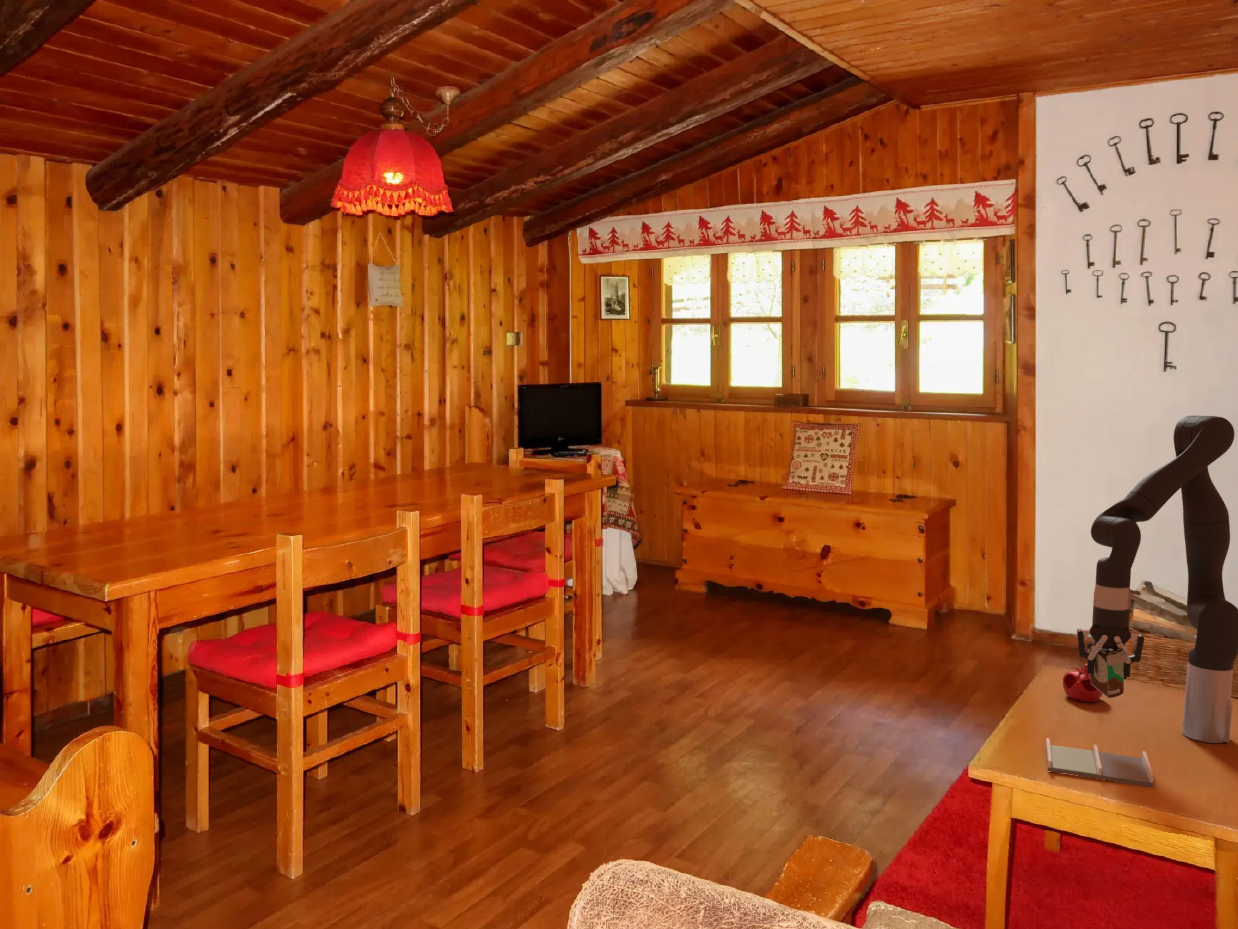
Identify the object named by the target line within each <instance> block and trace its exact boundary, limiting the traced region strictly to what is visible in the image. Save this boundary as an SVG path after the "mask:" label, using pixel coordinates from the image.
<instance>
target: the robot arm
mask: <svg viewBox="0 0 1238 929" xmlns="http://www.w3.org/2000/svg"><path fill="white" fill-rule="evenodd" d="M1234 440H1235V429H1234V426H1233V424H1232V423H1231V421H1230V420H1228V419H1226V417H1223V416H1217V415H1186V416H1184V417H1183V416H1182V417H1181V418H1180V419H1179V420H1178V421H1177V423H1176V425H1175V427H1174V430H1173V446H1174V452H1175V457H1174V459H1172V460H1170V461H1169V462H1167V463H1166V464H1164V465H1162V466H1160V467H1158V468H1156V469H1155V470H1153V471H1152V472H1150V473H1148V474H1147V475H1146V476H1145V477H1143V478H1142V479H1141V480H1140V481H1139V482H1138V483H1137V484H1136V485H1135V486H1134V487H1133V489H1131V491H1130V492H1129V493H1127V495H1126V496H1125V497H1124V498H1122V499H1121V500H1119V501H1118V502H1115V504H1113V505H1112V506H1110V507H1108V508H1107V509H1105V510H1104V511H1102V512H1100V513H1099V515H1098V516H1097V517H1096V518H1095V519H1094V520H1093V522H1092V523H1091V524H1092V525H1091V528H1090V535H1091V536H1090V537H1091V538H1092V540H1093V541H1094V542H1095V543H1096V544H1098V545H1100V546H1104V547H1108V548H1111V552H1110V554H1109V556H1107V557H1106V556H1105V557H1102V558H1101V557H1100V559H1098V561H1097V562H1096V569H1095V572H1096V573H1095V586H1094V591H1093V602H1092V603H1093V605H1092V619H1091V620H1092V621H1091V622H1092V624H1091V627H1090V628H1089V629H1083V628H1078V629H1076V637H1077V647H1078V649H1077V650H1078V654H1079V656H1080V657H1081V658H1084V659H1085V658H1086V660H1087V661H1086V664H1087V672H1088V673H1089V674H1090V676H1094V663H1095V661H1094V657H1095V656H1096V654H1097V653H1098V652H1099V651H1100V649H1101V648H1102V649H1113V650H1117V649H1119V650H1120V652H1121V651H1122V650H1124V652H1125V653H1126V656H1127V659H1126V660H1125V661H1124V681H1126V680H1127V678H1130V676H1131V665H1132V663H1138V662H1140V661H1141V657H1142V654H1143V648H1144V642H1145V637H1144V634H1142V633H1132V632H1131V631H1130V621H1131V620H1130V617H1131V616H1130V615H1131V606H1132V601H1131V600H1132V594H1131V577H1132V571H1131V570H1132V567H1133V565H1134V562H1135V559H1136V557H1137V554H1138V550H1139V547H1140V545H1141V540H1142V534H1141V529H1140V526H1139V525H1138V523H1140V522H1141V523H1145V522H1148V521H1149V520H1151V519H1152V518H1154V516H1155V515H1156V514H1157V513H1158V512H1159V511H1160V510H1161V509H1162V508H1163V507H1164V506H1165V504H1166V503H1168V501H1169V500H1170V499H1171V498H1172V497H1173V496H1174V495H1175V494H1176V493H1177V492H1178V491H1179V490H1180V492H1181V501H1182V518H1183V519H1182V522H1183V523H1182V524H1183V534H1184V537H1183V538H1184V544H1185V545H1184V546H1185V554H1186V556H1185V557H1186V565H1187V597H1186V598H1187V599H1186V600H1187V601H1186V615H1187V616H1186V617H1187V618H1188V619H1187V620H1188V621H1189V623H1190V624H1191V626H1193V628H1195V629H1196V635H1195V636H1196V637H1195V645H1194V647H1193V648H1190V649H1189V651H1188V653H1187V654H1188V655H1187V669H1186V680H1185V691H1184V704H1183V716H1182V717H1183V718H1182V723H1181V724H1182V725H1181V727H1182V728H1181V733H1182V734H1183V736H1185V737H1186V738H1189V739H1192V740H1195V741H1198V742H1202V743H1209V744H1224V743H1223V742H1227V743H1226V744H1229V743H1230V737H1231V735H1230V734H1231V728H1232V726H1231V725H1232V715H1233V702H1232V700H1231V698H1232V686H1233V677H1234V676H1233V675H1234V665H1235V661H1236V659H1237V658H1238V607H1237V606H1236V605H1234V603H1232V602H1230V601H1228V600H1227V599H1226V595H1225V590H1224V581H1223V570H1224V564H1225V561H1226V558H1227V554H1228V551H1229V548H1230V543H1231V530H1230V528H1231V527H1230V526H1231V525H1230V515H1229V514H1230V513H1229V510H1228V507H1227V505H1226V503H1225V502H1224V500H1223V498H1222V496H1221V495H1220V493H1219V491H1218V489H1217V488H1216V486H1215V484H1214V483H1213V480H1212V478H1211V475H1210V473H1209V467H1208V466H1210V465H1211V464H1212V463H1214V462H1216V460H1218V459H1219V458H1220V457H1222V456H1223V455H1224V454H1225V453H1226V452H1228V451H1229V449H1230V448H1231V447H1232V445H1233V443H1234ZM1089 635H1090V636H1091V638H1092V639H1093V641H1095V642H1094V643H1093V645H1092V647H1091V649H1090V650H1089V652H1087V650H1086V646H1085V640H1087V639H1088V636H1089ZM1130 639H1132V643H1134V648H1133V654H1132V655H1131V654H1130V655H1129V653H1128V651H1127V649H1126V647H1125V645H1126V644H1127V642H1128V641H1129V640H1130Z"/></svg>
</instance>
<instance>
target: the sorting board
mask: <svg viewBox="0 0 1238 929" xmlns="http://www.w3.org/2000/svg"><path fill="white" fill-rule="evenodd" d="M1045 743H1046V744H1045V755H1046V754H1047V756H1046V765H1047V766H1048V768H1047V772H1048V771H1051V772H1056V773H1055V774H1058V773H1067V774H1073V775H1078V776H1084V777H1083V778H1085V777H1090V778H1089V779H1091V778H1098V779H1105V780H1111V781H1110V782H1112V781H1116V782H1115V783H1118V782H1120V783H1119V784H1127V785H1133V786H1138V785H1140V787H1147V788H1154V779H1155V778H1154V776H1155V775H1154V773H1153V770H1152V766H1151V764H1150V760H1149V758H1148V755H1147V752H1146V751H1145V750H1143V751H1142V754H1141V756H1140V757H1139V756H1132V755H1125V754H1117V753H1110V752H1104V751H1103V752H1102V751H1099V748H1098V745H1097V744H1093V750H1091V749H1090V750H1089V749H1084V748H1083V749H1082V748H1077V747H1076V748H1075V747H1067V746H1061V745H1053V744H1051V740H1050V737H1047V738H1046V742H1045ZM1051 772H1050V773H1051ZM1078 776H1077V777H1078ZM1098 779H1097V780H1098ZM1105 780H1104V781H1105Z"/></svg>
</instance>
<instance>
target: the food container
mask: <svg viewBox="0 0 1238 929" xmlns="http://www.w3.org/2000/svg"><path fill="white" fill-rule="evenodd" d="M1094 642H1095V641H1094V640H1089V641H1085V651H1087V652H1089V650H1090V649H1091V647H1092V645H1093V643H1094ZM1126 659H1127V656H1126V653H1125V652H1124V650H1122V651H1121V652H1120V650H1119V649H1117V650H1113V649H1102V648H1101V649H1100V651H1099V652H1098V653H1097V654H1096V656H1095V657H1094V661H1095V663H1094V676H1090V680H1091V685H1092V686H1094V687H1095V688H1096V689H1097V690H1099V691H1100V692H1101V693H1103V696H1105V697H1106V698H1107V699H1111V698H1116V697H1119V696H1122V695H1123V693H1124V690H1125V688H1124V686H1125V679H1124V661H1125V660H1126Z"/></svg>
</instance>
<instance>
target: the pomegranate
mask: <svg viewBox="0 0 1238 929" xmlns="http://www.w3.org/2000/svg"><path fill="white" fill-rule="evenodd" d="M1080 668H1081V669H1079V668H1078V667H1074V670H1069V671H1067V672H1065V674H1064V675H1063V678H1062V686H1063V690H1064V692H1065V695H1066V696H1067V697H1068V698H1070V699H1071V700H1075V701H1080V702H1083V703H1095V702H1099V700H1100V698H1101V697H1102V696H1104V694H1103V693H1101V692H1100V691H1099V690H1097V689H1096V688H1095V687H1094V686H1092V685H1091V680H1090V674H1089V673H1088V672H1087V663H1085V664H1084V666H1083V665H1081V666H1080ZM1070 669H1073V667H1071V668H1070Z"/></svg>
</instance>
